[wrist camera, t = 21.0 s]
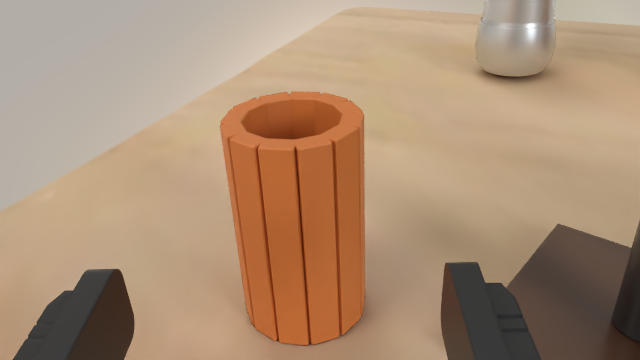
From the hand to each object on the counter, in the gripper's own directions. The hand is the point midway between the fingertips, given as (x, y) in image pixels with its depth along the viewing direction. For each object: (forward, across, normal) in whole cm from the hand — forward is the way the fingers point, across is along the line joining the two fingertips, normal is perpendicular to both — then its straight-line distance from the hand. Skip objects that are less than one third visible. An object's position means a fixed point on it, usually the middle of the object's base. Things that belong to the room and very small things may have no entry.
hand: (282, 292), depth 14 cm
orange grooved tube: (+8, 0, +8) cm, 12 cm away
